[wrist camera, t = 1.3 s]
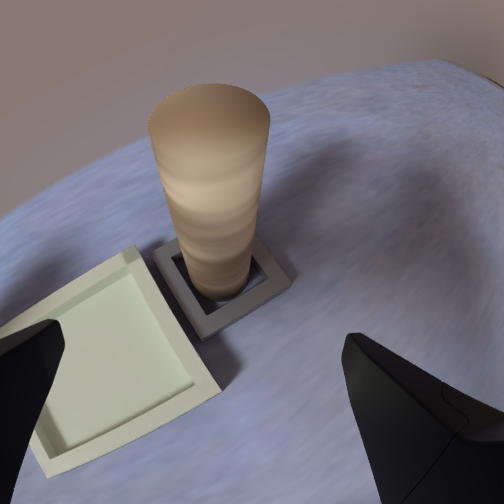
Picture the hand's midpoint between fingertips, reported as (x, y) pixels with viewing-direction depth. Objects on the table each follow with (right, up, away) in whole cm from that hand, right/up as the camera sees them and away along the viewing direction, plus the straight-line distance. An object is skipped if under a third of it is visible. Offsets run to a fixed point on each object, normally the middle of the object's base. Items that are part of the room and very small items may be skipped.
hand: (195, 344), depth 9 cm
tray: (-10, -6, +11) cm, 16 cm away
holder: (-1, +1, +15) cm, 15 cm away
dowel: (-1, +1, +15) cm, 15 cm away
